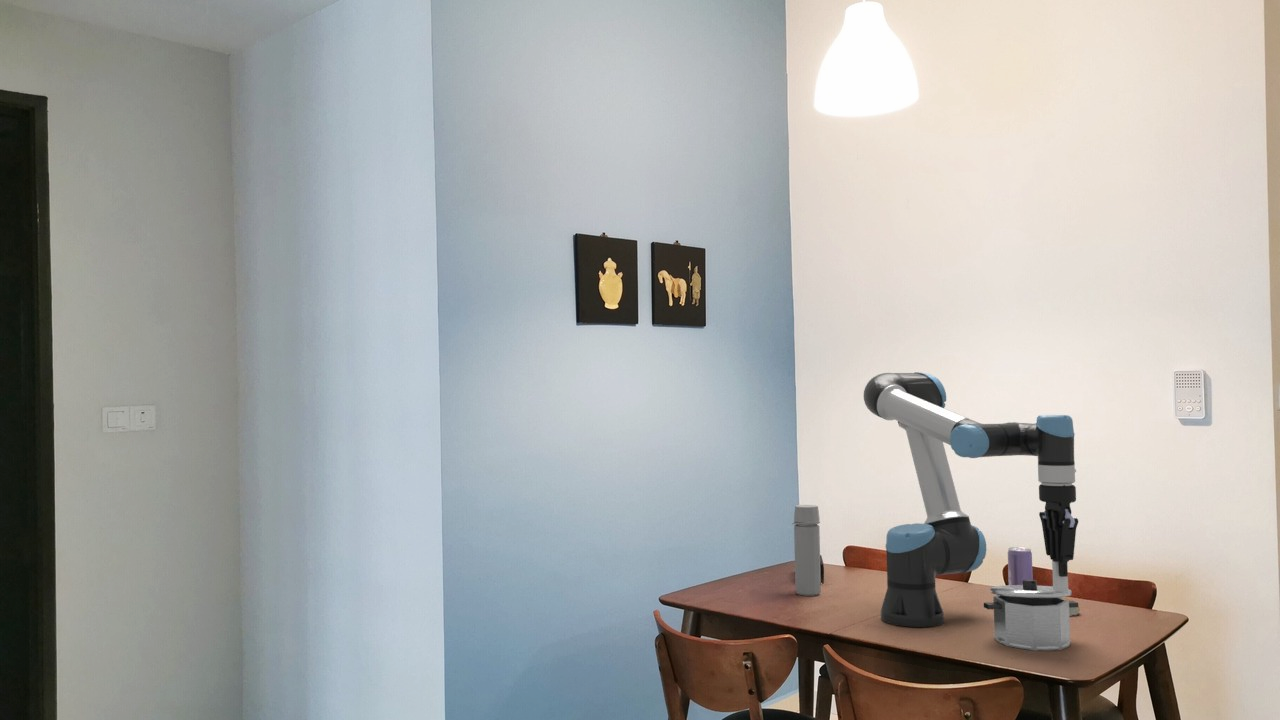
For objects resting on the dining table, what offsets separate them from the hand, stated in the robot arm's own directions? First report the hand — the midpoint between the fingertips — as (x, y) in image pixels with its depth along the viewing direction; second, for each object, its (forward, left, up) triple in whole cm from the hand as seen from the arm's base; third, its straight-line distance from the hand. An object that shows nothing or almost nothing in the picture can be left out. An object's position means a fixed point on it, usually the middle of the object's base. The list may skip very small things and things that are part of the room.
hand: (1060, 590), depth 202 cm
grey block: (+16, +31, -13) cm, 37 cm away
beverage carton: (-37, +83, -13) cm, 92 cm away
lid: (-5, +5, -2) cm, 7 cm away
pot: (-5, +5, -12) cm, 14 cm away
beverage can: (+9, +40, -13) cm, 43 cm away
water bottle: (-44, +61, -13) cm, 76 cm away
